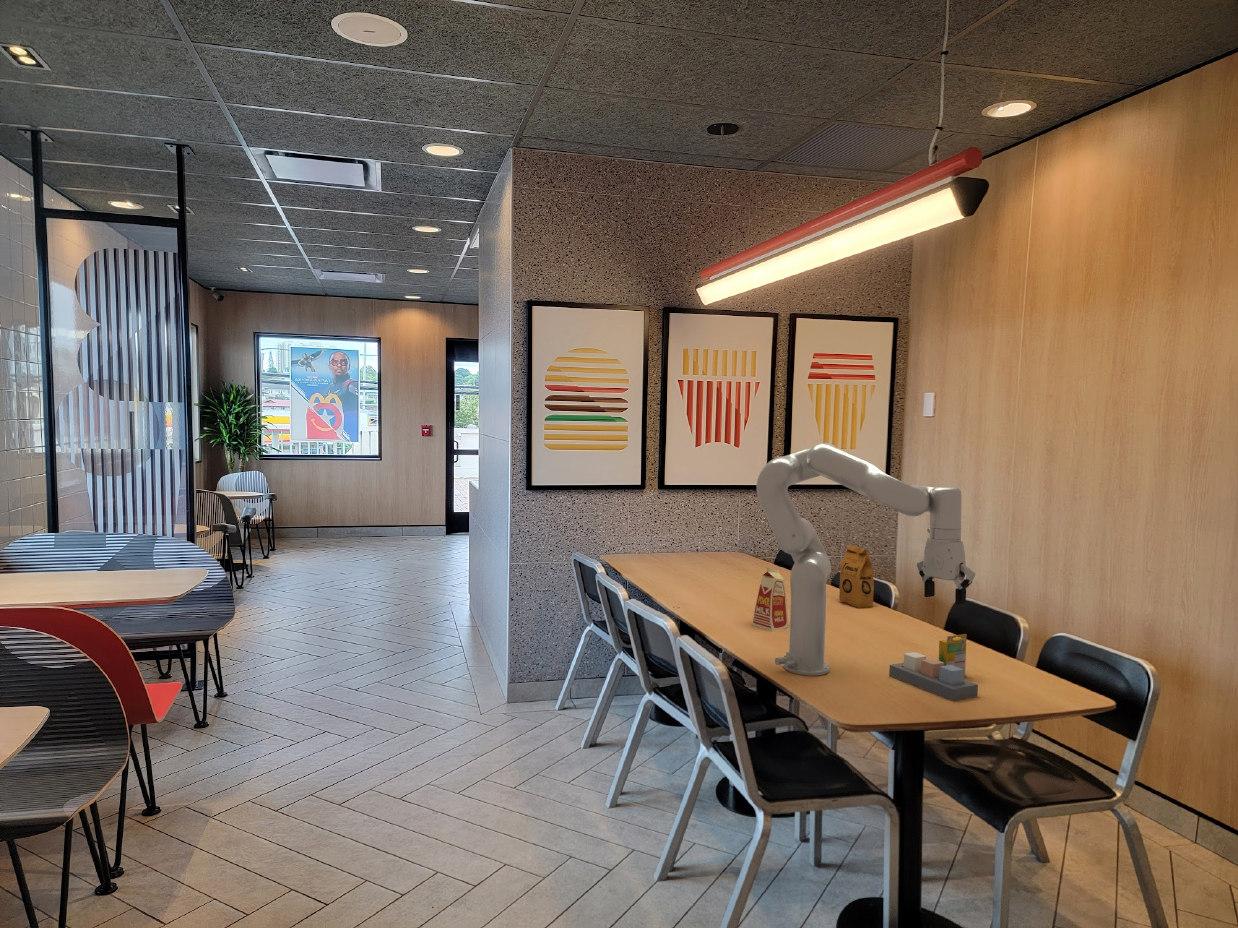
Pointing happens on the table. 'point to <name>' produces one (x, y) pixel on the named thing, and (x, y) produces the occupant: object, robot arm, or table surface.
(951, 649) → the crayon box
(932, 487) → the robot arm
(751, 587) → the table surface
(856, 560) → the coffee package
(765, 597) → the milk carton
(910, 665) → the ivory key
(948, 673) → the slate key
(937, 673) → the terracotta key
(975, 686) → the panel
